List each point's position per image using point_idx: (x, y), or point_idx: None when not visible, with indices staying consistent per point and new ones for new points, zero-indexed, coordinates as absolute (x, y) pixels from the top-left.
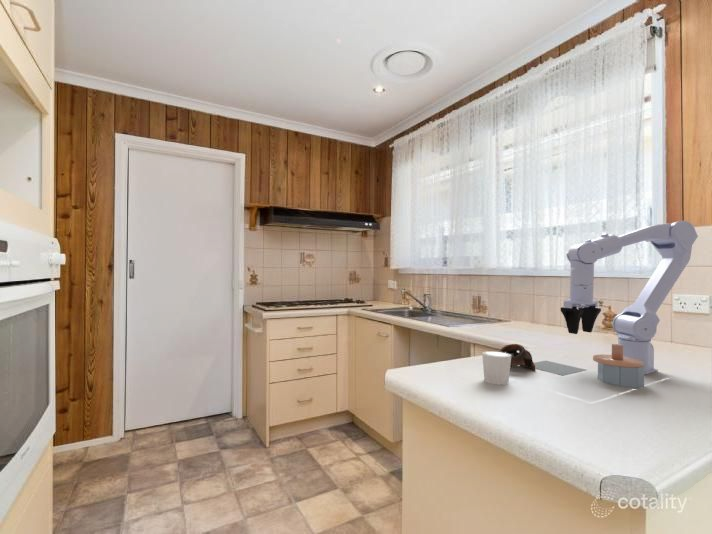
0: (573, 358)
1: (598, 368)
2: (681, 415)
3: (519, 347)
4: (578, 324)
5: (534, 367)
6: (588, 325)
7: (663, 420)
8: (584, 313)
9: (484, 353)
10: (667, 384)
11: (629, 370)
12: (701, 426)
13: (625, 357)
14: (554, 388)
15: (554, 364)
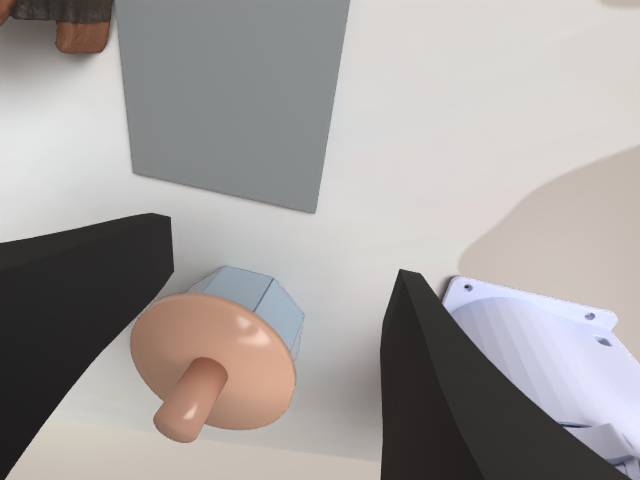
0: (634, 54)
1: (199, 291)
2: (114, 407)
3: None
4: (99, 338)
5: (69, 50)
6: (390, 355)
7: None
8: (423, 465)
9: None
10: (351, 406)
11: None
12: (91, 421)
13: (276, 391)
14: (4, 197)
15: (290, 61)
